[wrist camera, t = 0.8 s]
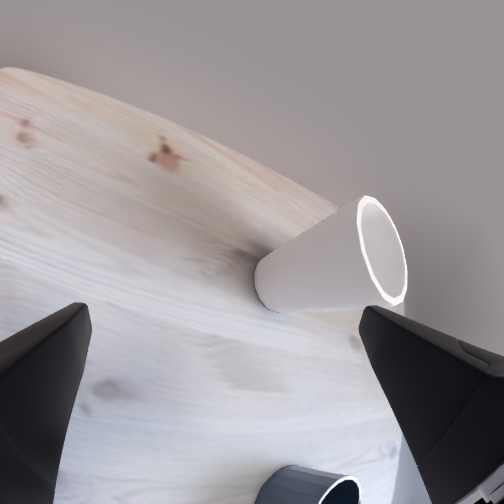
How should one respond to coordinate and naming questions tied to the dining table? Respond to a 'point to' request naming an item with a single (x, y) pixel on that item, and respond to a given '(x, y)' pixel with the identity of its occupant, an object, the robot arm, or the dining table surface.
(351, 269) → the foam cup
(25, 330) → the robot arm
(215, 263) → the dining table surface
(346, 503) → the cup
